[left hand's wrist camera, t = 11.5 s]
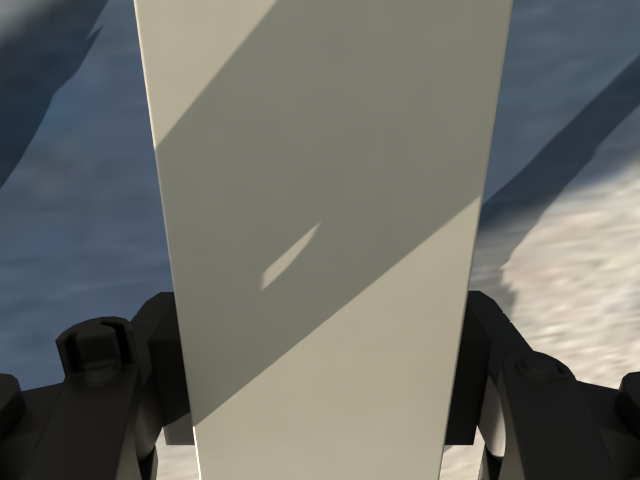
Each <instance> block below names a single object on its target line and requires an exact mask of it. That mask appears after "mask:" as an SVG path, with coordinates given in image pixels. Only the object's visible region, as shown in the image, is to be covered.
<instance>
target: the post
mask: <svg viewBox="0 0 640 480" xmlns="http://www.w3.org/2000/svg"><path fill="white" fill-rule="evenodd" d="M134 5H135V12H136V19H137V27H138V34H139V41H140V48H141V56H142V63H143V70H144V77H145V85H146V92H147V99H148V106H149V114H150V121H151V128H152V135H153V143H154V150H155V157H156V164H157V172H158V179H159V186H160V193H161V201H162V208H163V215H164V222H165V230H166V237H167V244H168V251H169V259H170V266H171V273H172V280H173V288H174V295H175V302H176V309H177V317H178V324H179V331H180V338H181V346H182V353H183V360H184V367H185V375H186V382H187V389H188V396H189V404H190V411H191V418H192V425H193V433H194V440H195V447H196V454H197V462H198V469H199V476H200V480H439V477H440V470H441V464H442V457H443V451H444V444H445V438H446V431H447V425H448V419H449V412H450V406H451V399H452V393H453V386H454V380H455V373H456V367H457V360H458V354H459V347H460V341H461V335H462V328H463V322H464V315H465V309H466V302H467V296H468V289H469V283H470V276H471V270H472V263H473V257H474V250H475V244H476V238H477V231H478V225H479V218H480V212H481V205H482V199H483V192H484V186H485V179H486V173H487V166H488V160H489V154H490V147H491V141H492V134H493V128H494V121H495V115H496V108H497V102H498V95H499V89H500V82H501V76H502V70H503V63H504V57H505V50H506V44H507V37H508V31H509V24H510V18H511V11H512V5H513V0H134Z"/></svg>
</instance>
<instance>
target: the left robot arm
mask: <svg viewBox="0 0 640 480" xmlns="http://www.w3.org/2000/svg"><path fill="white" fill-rule="evenodd" d="M55 341H56V345H57V348H58V352H59V355H60V359H61V362H62V366H63V369H64V373H65V376H66V377H65V379H64V381H63V382H62V383H58V384H55V385H50V386H45V387H41V388H36V389H31V390H26V391H21V388H20V385H19V382H18V379H16V378H15V377H14V376H12V375H10V374H2V373H0V480H156V476H157V467H158V457H157V451H156V446H155V443H156V441H157V438H158V436H159V434H160V432H161V429H162V427H163V429H164V434H165V440H166V445H195V440H194V433H193V425H192V418H191V411H190V404H189V396H188V389H187V382H186V375H185V367H184V360H183V353H182V346H181V338H180V331H179V324H178V317H177V309H176V302H175V295H174V292H160V293H158V294H157V295H155V296H154V297H152V298H151V299H149V300H148V301H146V302H145V303H144V305H143V306H142V307H141V309H140V310H139V311H138V312H137V315H135V316H134V318H133V319H132V320H131V322H129V321H128V320H126V319H125V318H120V317H116V316H111V317H99V318H94V319H90V320H86V321H84V322H81V323H79V324H76V325H74V326H72V327H70V328H69V329H67V330H66V331H64V332H63V333H62V334H61V335H60V336H59V337H58V338H57V339H56V340H55ZM477 426H478V428H479V430H480V432H481V435H482V437H483V439H484V441H485V446H484V451H483V456H482V461H481V466H480V471H479V476H478V480H640V371H639V372H632V373H628V374H627V375H626V376H624V377H623V378H622V381H621V384H620V387H619V390H618V389H613V388H608V387H603V386H598V385H594V384H589V383H584V382H581V381H577V380H576V378H575V376H574V375H573V373H572V372H571V371H570V369H569V368H568V367H567V366H566V365H564V364H563V363H562V362H560V361H559V360H557V359H555V358H553V357H551V356H549V355H547V354H544V353H541V352H536V351H533V350H532V349H531V347H530V346H529V345H528V343H527V342H526V341H525V339H524V338H523V337H522V336H521V334H520V333H519V332H518V330H517V329H516V328H515V327H514V325H513V324H512V323H510V320H509V319H508V317H507V316H506V315H505V314H504V313H503V311H502V310H501V308H500V307H499V306H498V305H497V303H496V302H495V301H494V300H493V299H492V298H490V297H488V296H487V295H485V294H484V293H482V292H481V291H468V296H467V302H466V309H465V315H464V322H463V328H462V335H461V341H460V347H459V354H458V360H457V367H456V373H455V380H454V386H453V393H452V399H451V406H450V412H449V419H448V425H447V431H446V438H445V444H444V445H473V444H474V438H475V433H476V427H477Z"/></svg>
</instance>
